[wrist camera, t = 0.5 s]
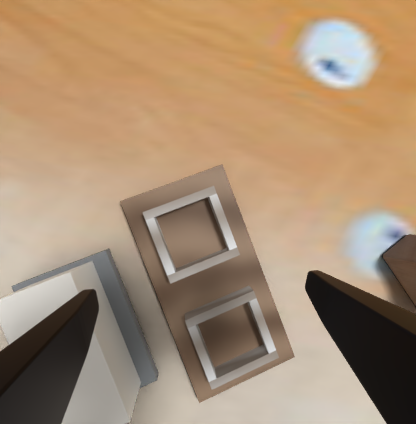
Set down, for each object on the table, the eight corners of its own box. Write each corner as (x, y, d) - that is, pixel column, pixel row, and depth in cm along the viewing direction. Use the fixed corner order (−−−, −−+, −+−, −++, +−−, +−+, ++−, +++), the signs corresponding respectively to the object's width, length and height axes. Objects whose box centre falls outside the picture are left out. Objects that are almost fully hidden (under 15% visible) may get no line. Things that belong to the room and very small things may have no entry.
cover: (140, 382, 21) (130, 421, 17) (81, 409, 20) (55, 457, 16) (92, 260, 21) (70, 271, 17) (29, 285, 20) (-9, 302, 16)
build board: (290, 350, 24) (302, 366, 21) (198, 394, 23) (200, 416, 20) (220, 166, 23) (225, 160, 21) (123, 201, 22) (115, 200, 19)
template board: (158, 372, 22) (154, 397, 19) (73, 411, 21) (54, 443, 18) (109, 248, 22) (96, 254, 19) (19, 282, 21) (-8, 294, 18)
